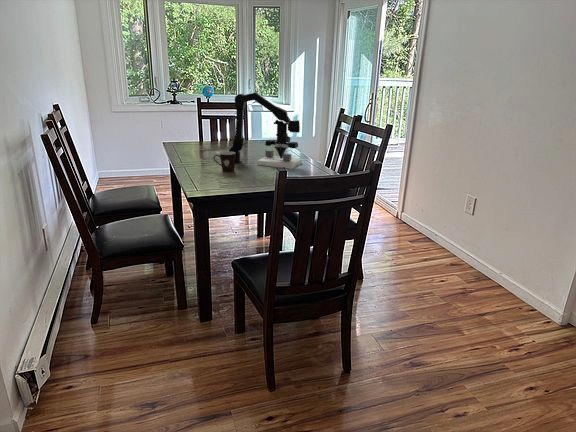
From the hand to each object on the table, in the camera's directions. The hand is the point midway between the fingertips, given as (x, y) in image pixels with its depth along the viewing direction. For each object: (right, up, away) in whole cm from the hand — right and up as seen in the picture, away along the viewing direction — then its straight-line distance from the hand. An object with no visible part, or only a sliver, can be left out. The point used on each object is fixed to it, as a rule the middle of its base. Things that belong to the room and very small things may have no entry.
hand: (281, 158), depth 254 cm
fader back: (-7, +3, +9) cm, 12 cm away
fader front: (+3, -1, -1) cm, 4 cm away
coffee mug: (-30, -9, -16) cm, 36 cm away
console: (-1, -3, +3) cm, 4 cm away
